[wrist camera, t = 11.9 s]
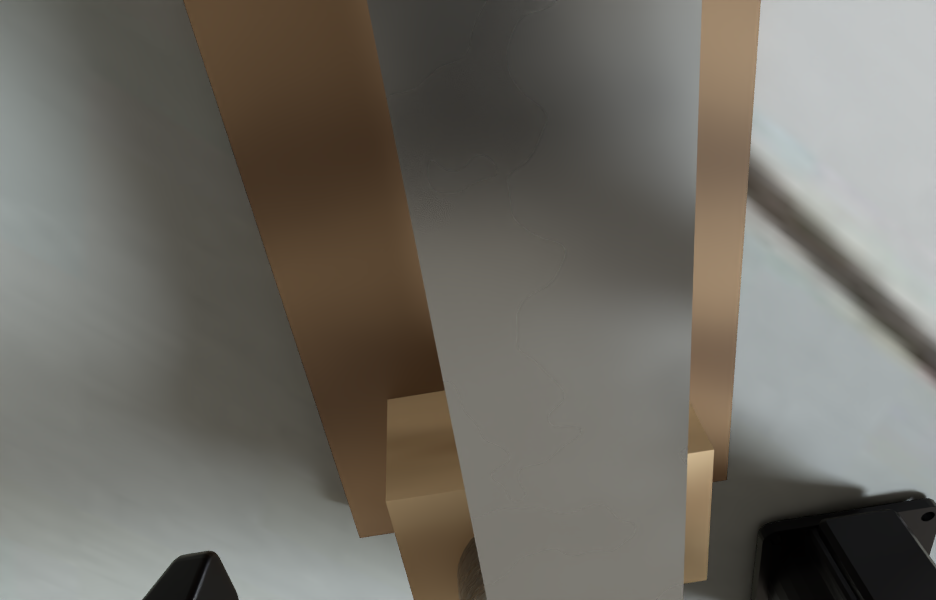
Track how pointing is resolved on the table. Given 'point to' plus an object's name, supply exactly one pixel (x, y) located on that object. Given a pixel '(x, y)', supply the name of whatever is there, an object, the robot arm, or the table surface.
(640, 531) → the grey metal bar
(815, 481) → the table surface
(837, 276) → the table surface
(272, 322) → the table surface
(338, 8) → the rack
